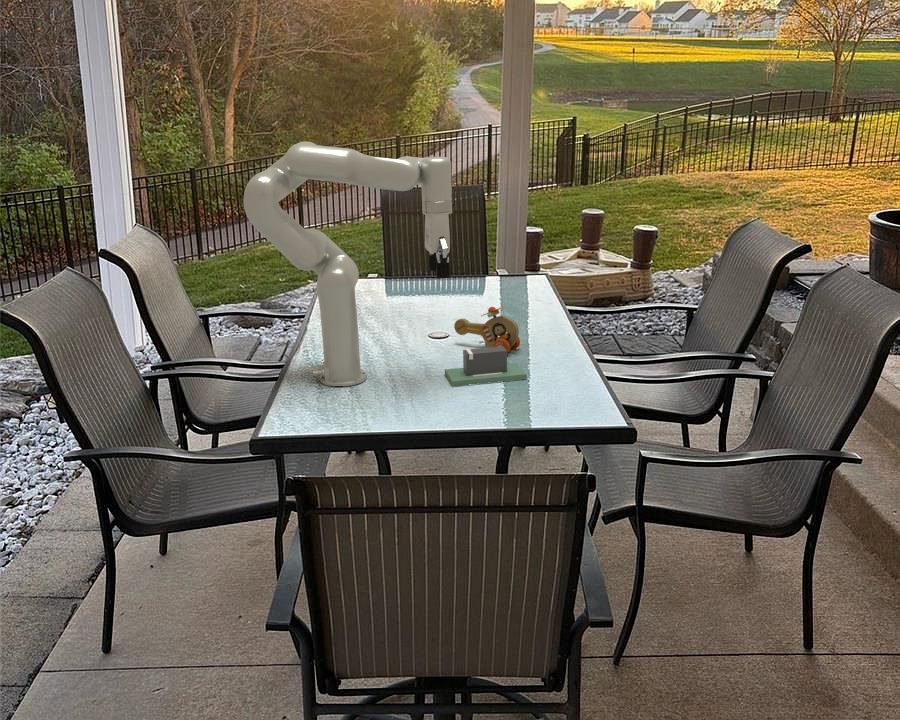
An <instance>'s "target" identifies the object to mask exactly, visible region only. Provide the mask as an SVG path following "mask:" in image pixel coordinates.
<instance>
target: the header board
mask: <svg viewBox="0 0 900 720" xmlns="http://www.w3.org/2000/svg"><path fill="white" fill-rule="evenodd" d="M527 374H528V373H526V372H525V370H523V368H521V366H520V365H519V364H518V363H517V362H509V363H508V362H507V372H503V373H502V372H500V373H490V374H480V375H471V376H466V374H465V373H464V371H463V367H457V368H445V369H444V376H445V377H446V379H447V380H448V382H449V384H450V383H451V384H450V386H451V387H452V386H453V387H454V386H456V387H463V386H462V385H467V386H470V385H469V384H477V383H487V384H489V383H488V382H497V383H499V382H498V381H507V382H512V381H511V380H517V381H523V380H522V379H528V378H527ZM477 385H478V384H477ZM453 387H452V388H453Z"/></svg>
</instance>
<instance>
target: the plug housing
mask: <svg viewBox="0 0 900 720" xmlns="http://www.w3.org/2000/svg"><path fill="white" fill-rule="evenodd" d="M462 359H463V360H462V368H463V371H464V373H465V374H466V376H471V375H480V374H490V373H500V372H502V373H503V372H507V363H508V354H507V350H506V349H505V348H504V347H503V346H501V347H490V348H486V347H479V348H466V349H463V350H462Z"/></svg>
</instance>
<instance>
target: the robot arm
mask: <svg viewBox="0 0 900 720" xmlns="http://www.w3.org/2000/svg"><path fill="white" fill-rule="evenodd" d="M308 180H314V181H322V182H323V181H324V182H331V183H341V184H349V185H352V186H357V187H358V186H359V187H366V188H370V189H371V188H372V189H378V190H387V191H396V192H398V191H399V192H405V191H410V190H411V189H413V188H415V187H416V186H418V185H421V203H422V204H421V207H422V209H421V210H422V214H423V215H424V217H425V218H424V248H425V250H426V251H428V253H429V254H428V262H429V265H428V266H429V270H430V271H436V278H437V279H439V280H440V279H449V278H450V258H449V253H450V250H451V237H450V218H449V217H450V216H449V215H450V214H453V191H452V190H453V189H452V162H451V159H450V158H449V157H446V156H427V157H417V156H408V155H407V156H406V155H405V156H401V157H399V158H397V159H396V158H387V157H378V156H372V155H367V154H365V153H361V152H360V151H358V150H356V149H353V148H348V147H347V148H346V147H335V146H328V145H327V146H326V145H318V144H316V143H314V142H311V141H307V140H306V141H300V142H298V143H295V144H293V145H291V146H290V147H289V148H288V149H287V152H286V153H285V154H284V155H283V156H282V157H281V158H278V160H276V161H275V162H274V163H273V164H271V165H270V166H269V167H268V168H266V169H265V170H263V171H261V172H258V173H257V174H255V175H253V176H252V177H251V178H250V179H249V181H248V182H247V185H246V186H245V190H244V192H243V193H244V194H243V209H244V212H245V214H246V218H247V219H248V221H249V222H250V223H251V225H252V226H253V227H254V228H255V229H256V230H257V231H258V232H259V233H260V234H261V235H262V236H263V237H264V238H265V239H266V240H268V241H269V242H270V244H271V245H272V246H273V247H275V249H276V250H277V251H278V252H280V253H281V254H282V255H283V256H284V257H285V258H286V259H287V260H288V261H289V262H290V263H291V264H292V265H293V266H295V268H297V269H298V270H300V271H305V272H309V271H313V272H314V273H315V274H316V275H318V276H317V281H316V291H317V292H316V294H317V297H318V304H319V305H318V306H319V312H320V314H319V315H320V325H321V334H322V349H323V361H322V364H319V366H307V375H312V376H313V377H315V376H316V377H317V376H319V381H320V383H322V385H325V386H329V387H335V386H343V387H350V386H355V385H359V384H361V383H363V382H364V381H366V380H367V378H368V376H367V375H368V374H367V371H366V370H363V369H362V368H361V354H360V353H361V352H360V338H359V326H358V325H359V324H358V322H359V321H358V312H357V311H358V309H357V301H356V300H357V299H356V285H357V283H358V280H359V276H360V273H359V268H358V266H357V265H356V263H355V261H354V260H353V259H352V258H351V257H350V256H349V255H348V254H347V253H346V252H345V251H343V250H342V249H341V248H340V247H339V246H338V245H337V244H336V243H335V242H334V241H333V240H332V239H331V238H329V236H328V235H327V234H325V233H324V232H322V231H321V230H318V229H317V228H316V229H315V228H304V227H303V226H302V225H301V224H300V223H299V222H298V221H296V219H295V218H294V217H293V216H291V214H289V213H287V212H286V211H285V210H284V209H283V208H282V207H281V206H280V203H279V202H280V201H282V200H284V199H285V198H286V197H287V196H288V195H290V194H291V193H292V192H294V191H295V190H296V189H298V188H299V187H301V185H303V184H304V183H305V182H306V181H308Z"/></svg>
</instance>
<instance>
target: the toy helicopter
mask: <svg viewBox="0 0 900 720" xmlns="http://www.w3.org/2000/svg"><path fill="white" fill-rule="evenodd" d="M504 308H505V307H504V306H501V307H499V308H497V307H495V306H490V307H488V309H487V312H485V313H484V314H482V315H481V317H483V316H486V315H487V318H489V319H488V320H487V321H486V322H485V323H478V322H471V321H469V320H468V319H466V318H459V319H456V320H455V322H454V331H455V332H456V333H457V334H458V335H460V336H465V335H467V334H472V335H478V336H480V337H481V338H482V339H483V340H484V342H485V346H484V348H490V347H501V346H503V347H504V348H505V349H506V350H507V355H508V354H509V353H510V351H513V350H516V349H518V348H519V347H520V345H521V340H520V339H521V338H520V337H519V330H520V329H519V326H518V324H517V322H516V321H515V320H514V319H513V318H511V317H509V316H503V315H499V314H500V313H501V312H500V310H503V309H504ZM497 315H498V316H497Z"/></svg>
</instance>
